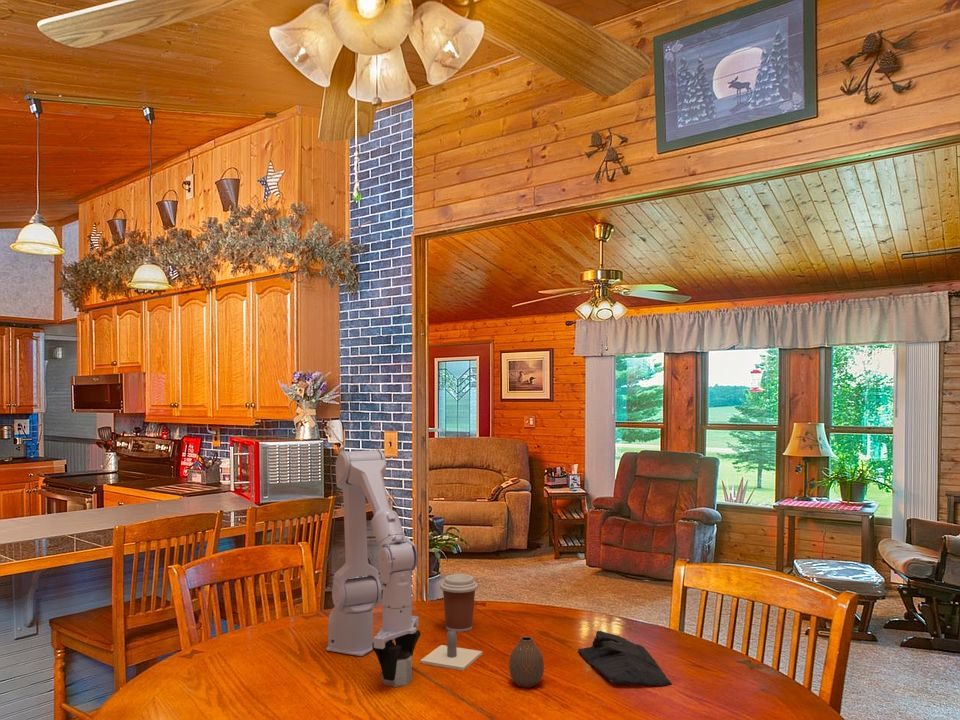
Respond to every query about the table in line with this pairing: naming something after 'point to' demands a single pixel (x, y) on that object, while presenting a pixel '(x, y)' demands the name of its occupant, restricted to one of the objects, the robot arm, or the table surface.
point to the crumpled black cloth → (623, 661)
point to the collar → (401, 670)
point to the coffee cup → (459, 601)
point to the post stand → (451, 655)
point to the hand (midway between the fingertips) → (396, 673)
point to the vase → (526, 663)
